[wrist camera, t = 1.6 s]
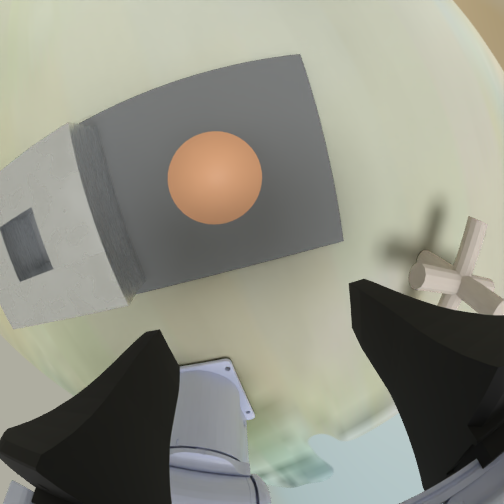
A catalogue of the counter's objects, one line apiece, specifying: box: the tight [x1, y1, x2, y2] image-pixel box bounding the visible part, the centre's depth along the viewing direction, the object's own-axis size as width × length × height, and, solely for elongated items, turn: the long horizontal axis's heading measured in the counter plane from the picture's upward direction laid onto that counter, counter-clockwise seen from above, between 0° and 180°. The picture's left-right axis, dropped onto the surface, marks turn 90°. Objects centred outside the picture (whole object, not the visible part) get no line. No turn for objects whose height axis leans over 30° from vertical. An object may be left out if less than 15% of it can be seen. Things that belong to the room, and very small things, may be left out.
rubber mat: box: [29, 54, 344, 294], centre depth 18 cm, size 14×30×1 cm, turn 104°
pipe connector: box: [409, 216, 504, 315], centre depth 16 cm, size 10×10×10 cm
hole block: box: [0, 123, 146, 329], centre depth 16 cm, size 12×14×4 cm
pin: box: [168, 131, 262, 224], centre depth 13 cm, size 3×3×10 cm
